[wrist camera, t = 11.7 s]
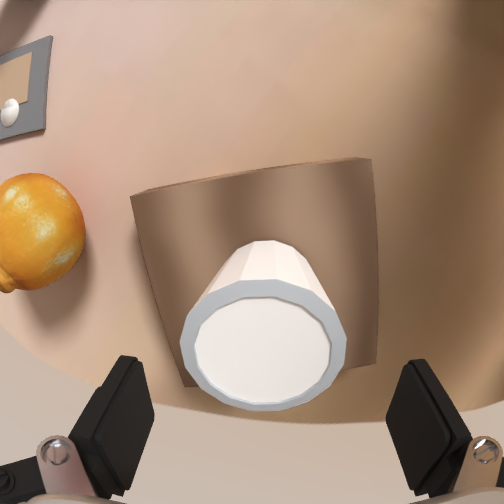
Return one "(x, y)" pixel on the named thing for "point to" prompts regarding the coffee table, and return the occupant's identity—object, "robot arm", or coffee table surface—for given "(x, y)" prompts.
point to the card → (24, 88)
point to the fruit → (37, 232)
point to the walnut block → (267, 239)
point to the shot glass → (264, 331)
